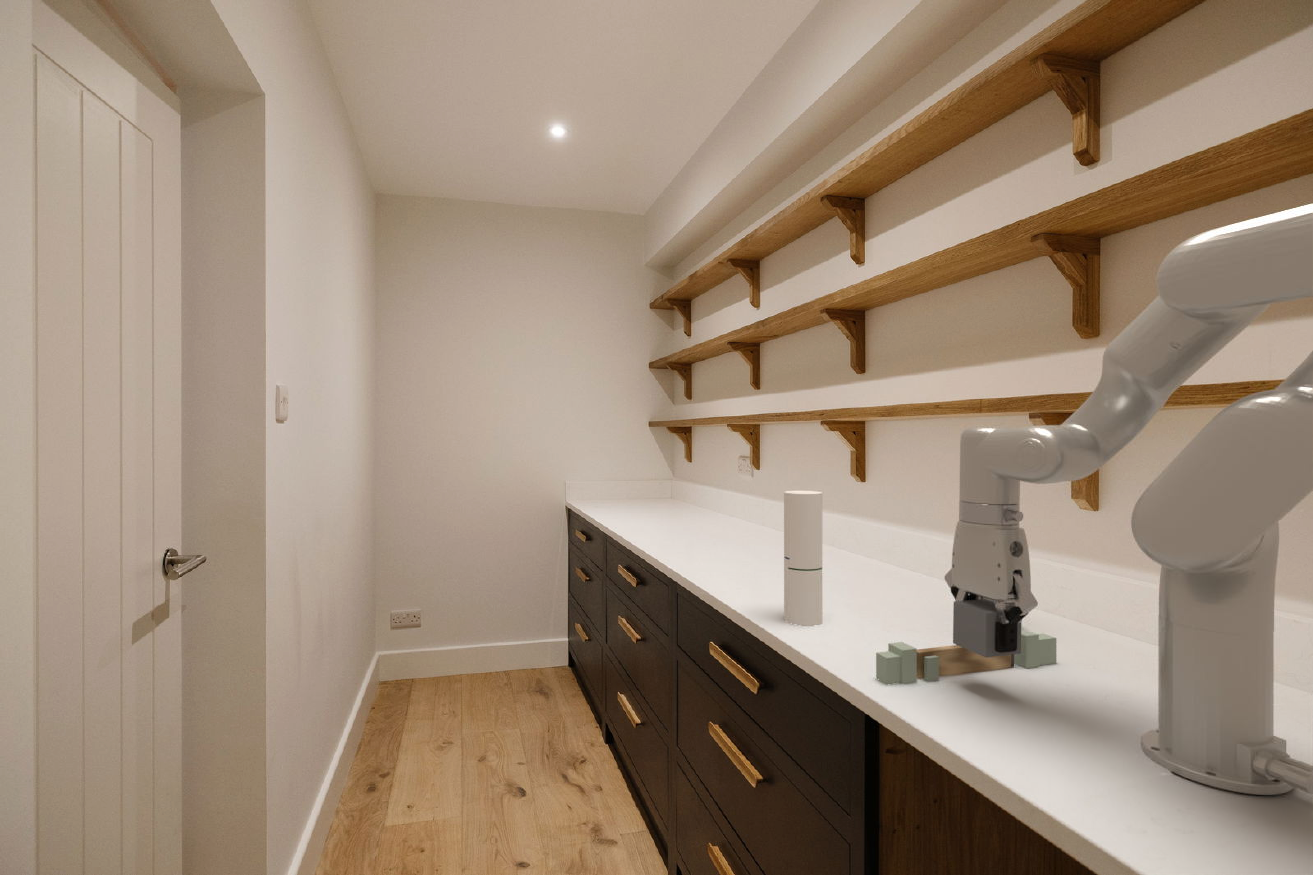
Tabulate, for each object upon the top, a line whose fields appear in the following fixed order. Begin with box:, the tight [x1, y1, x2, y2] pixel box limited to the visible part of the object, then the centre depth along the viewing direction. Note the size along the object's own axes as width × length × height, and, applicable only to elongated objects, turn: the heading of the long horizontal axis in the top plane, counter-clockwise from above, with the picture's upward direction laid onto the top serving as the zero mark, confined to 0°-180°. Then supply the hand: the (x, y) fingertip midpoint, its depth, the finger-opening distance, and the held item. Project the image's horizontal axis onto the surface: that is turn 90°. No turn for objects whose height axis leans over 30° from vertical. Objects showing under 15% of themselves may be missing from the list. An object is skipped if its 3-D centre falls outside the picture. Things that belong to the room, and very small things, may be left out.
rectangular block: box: [952, 599, 1022, 658], centre depth 90 cm, size 6×6×6 cm
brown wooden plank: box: [917, 644, 1015, 680], centre depth 98 cm, size 18×3×5 cm, turn 107°
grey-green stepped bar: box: [875, 628, 1057, 685], centre depth 98 cm, size 3×31×5 cm, turn 107°
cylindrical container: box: [783, 490, 823, 627], centre depth 123 cm, size 7×7×25 cm
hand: (986, 642), depth 90 cm, fingers closed on rectangular block, 6 cm apart
